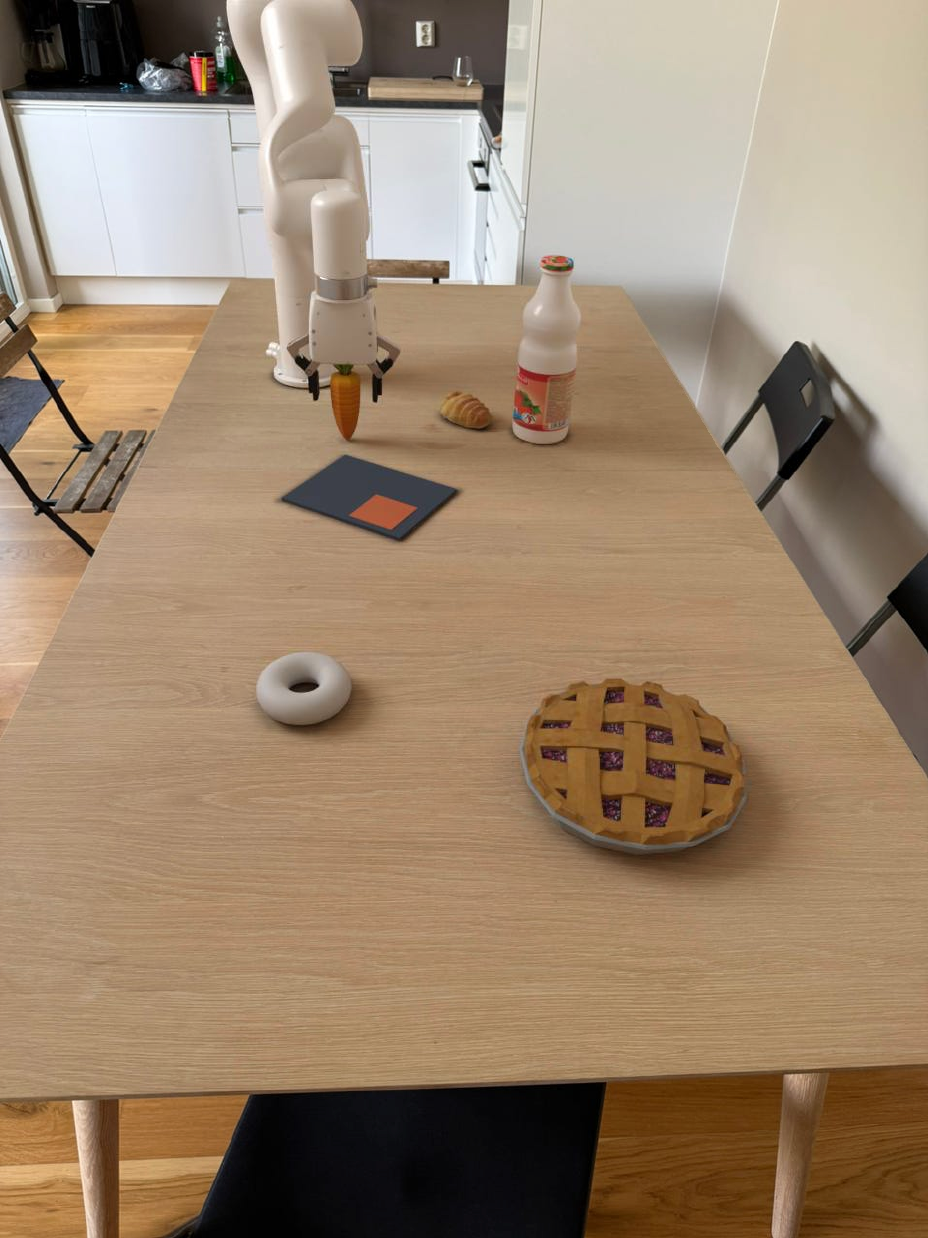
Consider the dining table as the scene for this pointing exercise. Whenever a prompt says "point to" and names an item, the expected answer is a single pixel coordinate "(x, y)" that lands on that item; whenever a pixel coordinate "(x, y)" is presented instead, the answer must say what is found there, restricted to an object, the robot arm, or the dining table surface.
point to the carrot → (345, 399)
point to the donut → (309, 704)
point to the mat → (370, 496)
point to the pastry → (465, 410)
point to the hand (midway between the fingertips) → (346, 397)
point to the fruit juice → (547, 357)
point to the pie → (633, 766)
